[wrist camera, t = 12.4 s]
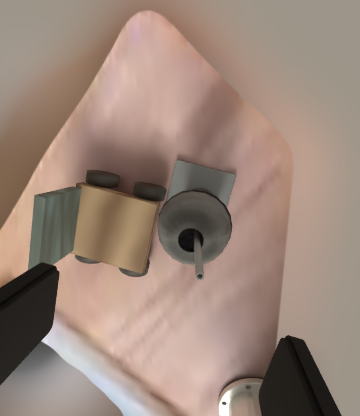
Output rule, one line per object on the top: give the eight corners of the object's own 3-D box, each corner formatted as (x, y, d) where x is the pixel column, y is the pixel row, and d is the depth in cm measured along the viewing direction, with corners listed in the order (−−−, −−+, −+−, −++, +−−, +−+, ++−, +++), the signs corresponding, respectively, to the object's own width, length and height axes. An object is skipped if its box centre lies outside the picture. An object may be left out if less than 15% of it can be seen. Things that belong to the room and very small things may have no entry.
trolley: (168, 188, 35) (146, 205, 23) (150, 266, 38) (123, 317, 26) (94, 168, 36) (36, 176, 24) (83, 246, 39) (26, 287, 27)
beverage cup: (193, 167, 33) (169, 185, 14) (236, 197, 34) (269, 256, 14) (165, 208, 35) (108, 274, 16) (205, 236, 35) (197, 336, 16)
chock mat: (235, 174, 33) (236, 174, 33) (216, 239, 36) (216, 240, 35) (176, 159, 34) (176, 159, 33) (161, 224, 36) (161, 225, 36)
